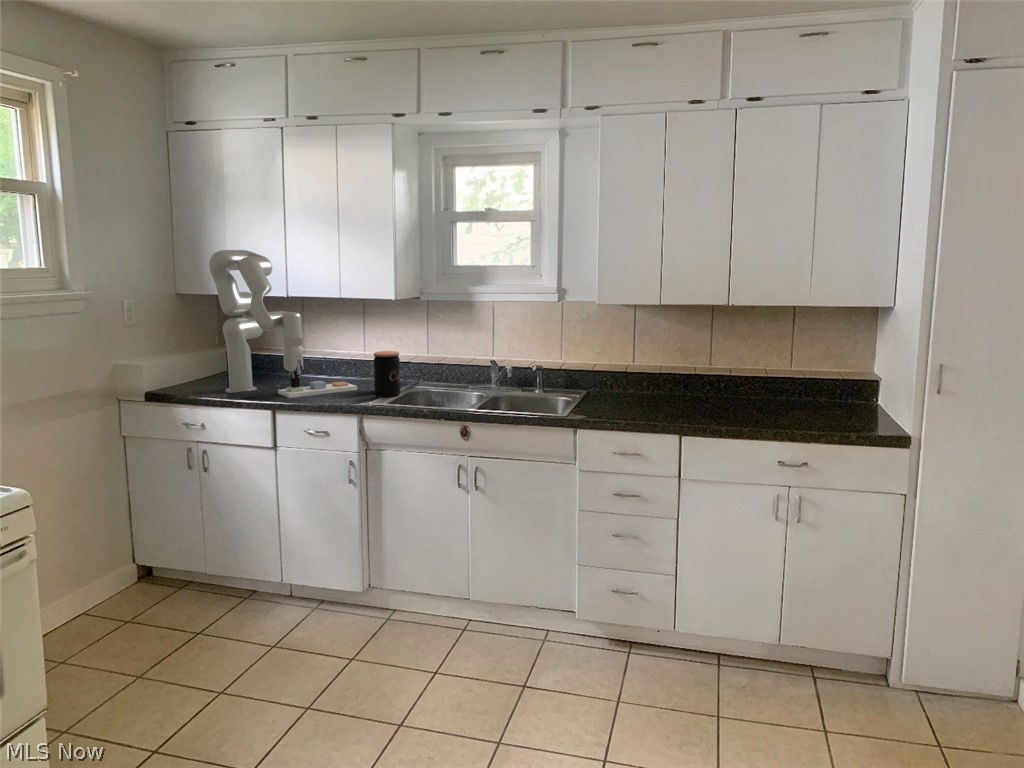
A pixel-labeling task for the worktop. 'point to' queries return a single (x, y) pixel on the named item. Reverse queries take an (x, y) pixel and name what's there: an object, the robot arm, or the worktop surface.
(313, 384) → the slate button
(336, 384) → the terracotta button
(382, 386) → the coffee jar
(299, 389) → the sage button
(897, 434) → the worktop surface
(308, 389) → the button panel
